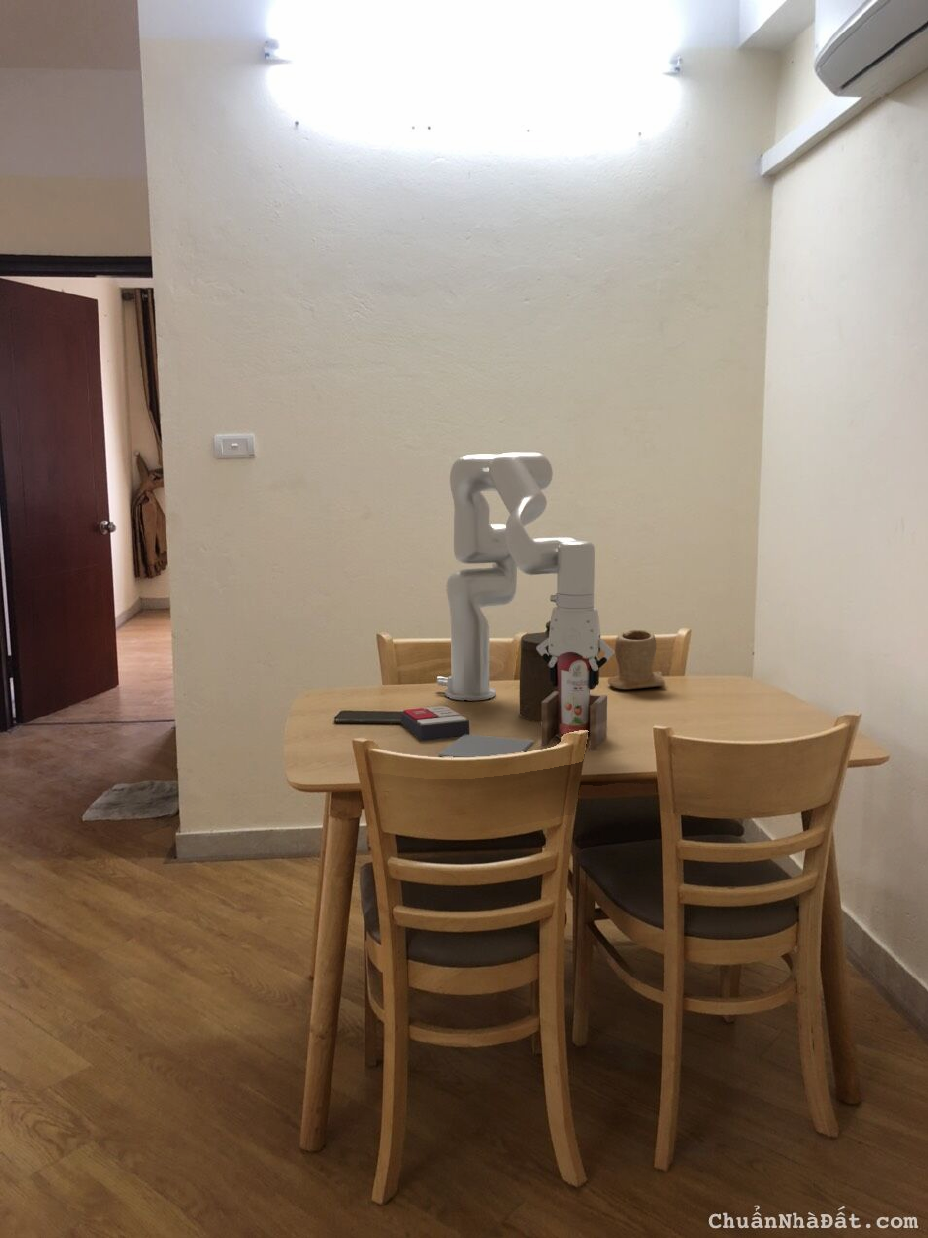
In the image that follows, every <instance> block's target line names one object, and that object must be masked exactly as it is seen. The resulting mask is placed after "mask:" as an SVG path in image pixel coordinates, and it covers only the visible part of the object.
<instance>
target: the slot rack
mask: <svg viewBox="0 0 928 1238" xmlns="http://www.w3.org/2000/svg"><path fill="white" fill-rule="evenodd" d="M607 717H608V695H607V694H597V693H595V694H594V693H590V701H589V721H588V731H589V734H590V737H589V750H593V751H596V750H597V749H598V748H599V747H600V745H601V744H602V743H603V742H604V740H605V739H606V738H607V732H608V731H607V728H608V727H607V723H608V722H607V721H608V718H607ZM540 723H541V724H540V725H541V733H540V734H541V735H540V736H541V737H540V738H541V739H540V741H541V742H540V745H543V746H547V745H549V744H550V743H551V741H553V740H554V739H555V737H556V736H557V734H558V732H559V692H558V691H554V692H553V693H552V694H551V695H550V696H548V697H547V698H546V699H545V700H544V701H542V717H541V722H540Z"/></svg>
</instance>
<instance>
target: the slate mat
mask: <svg viewBox="0 0 928 1238" xmlns="http://www.w3.org/2000/svg"><path fill="white" fill-rule="evenodd" d="M533 744H534V741H533V740H526V739H520V738H518V739H516V738H509V737H498V736H488V735H478V734H470V733H469V734H464V735H463V736H462V737H458V739H456V740H455V741H454V742H452V743H451V744H450V745H449V746H447V747H446V748H444V749H443V750H442V751H440V752H439V753H438V757H439V756H453V757H475V756H490V755H497V754H507V753H515V752H521V751H525V750H526V751H527V750H528V749H529V748H530V747H531V746H532V745H533ZM526 751H525V752H526Z"/></svg>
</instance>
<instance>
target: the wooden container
mask: <svg viewBox="0 0 928 1238" xmlns="http://www.w3.org/2000/svg"><path fill="white" fill-rule="evenodd" d="M550 622H551V620H549V621H548V622H546V623H545V628H546V630H545V631H543V632H532V633H526V634H524V635H522V636H521V639H520V665H519V667H520V669H519V671H520V672H519V715H520V716H521V718H524V719H526V720H528V721H531V722H538V723H541V717H542V701H544V700H545V699H546V698H547V697H548V696H550V695H551V694H552V693H553V692H554V691H558V685H557V686H556V687H553V682H551V680H550V672H551V667H549V664H548V663H547V662H546V661H545V660H544V659H543V658H542V655H540V653H539V652H538V651H537V649H536V647H537V646H538V645H539V644H541V643H542V642H543V641H545V640H546V639H547V638H549V631H550ZM546 650H547V652H548V653H549V649H548V646H547V647H546ZM551 656H552V655H551ZM552 657H553V656H552Z"/></svg>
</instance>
